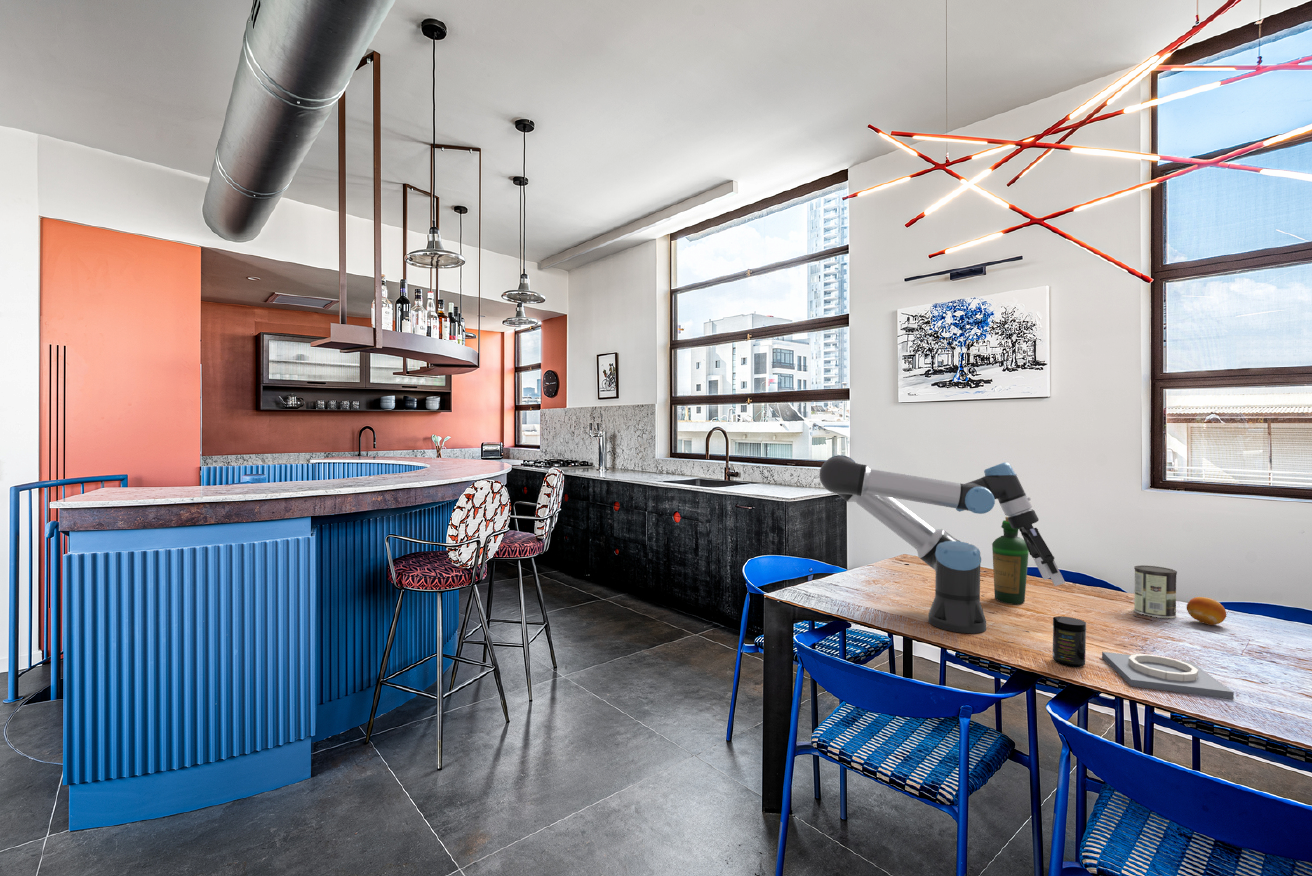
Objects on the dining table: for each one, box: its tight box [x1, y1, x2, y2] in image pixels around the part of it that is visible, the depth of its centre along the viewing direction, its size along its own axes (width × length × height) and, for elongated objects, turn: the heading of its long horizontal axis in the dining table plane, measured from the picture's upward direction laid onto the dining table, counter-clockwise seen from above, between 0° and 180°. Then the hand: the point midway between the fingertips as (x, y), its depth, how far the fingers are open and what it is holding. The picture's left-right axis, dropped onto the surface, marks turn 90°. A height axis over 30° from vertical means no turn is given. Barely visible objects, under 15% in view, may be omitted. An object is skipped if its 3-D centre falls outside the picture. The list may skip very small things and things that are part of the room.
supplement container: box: [1052, 615, 1087, 669], centre depth 147 cm, size 7×7×10 cm
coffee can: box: [1133, 565, 1178, 619], centre depth 188 cm, size 10×10×14 cm
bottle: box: [991, 516, 1030, 605], centre depth 201 cm, size 11×11×28 cm
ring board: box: [1101, 651, 1235, 700], centre depth 140 cm, size 18×18×3 cm
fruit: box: [1186, 596, 1227, 626], centre depth 179 cm, size 8×8×8 cm
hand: (1054, 581), depth 176 cm, fingers open, 13 cm apart
